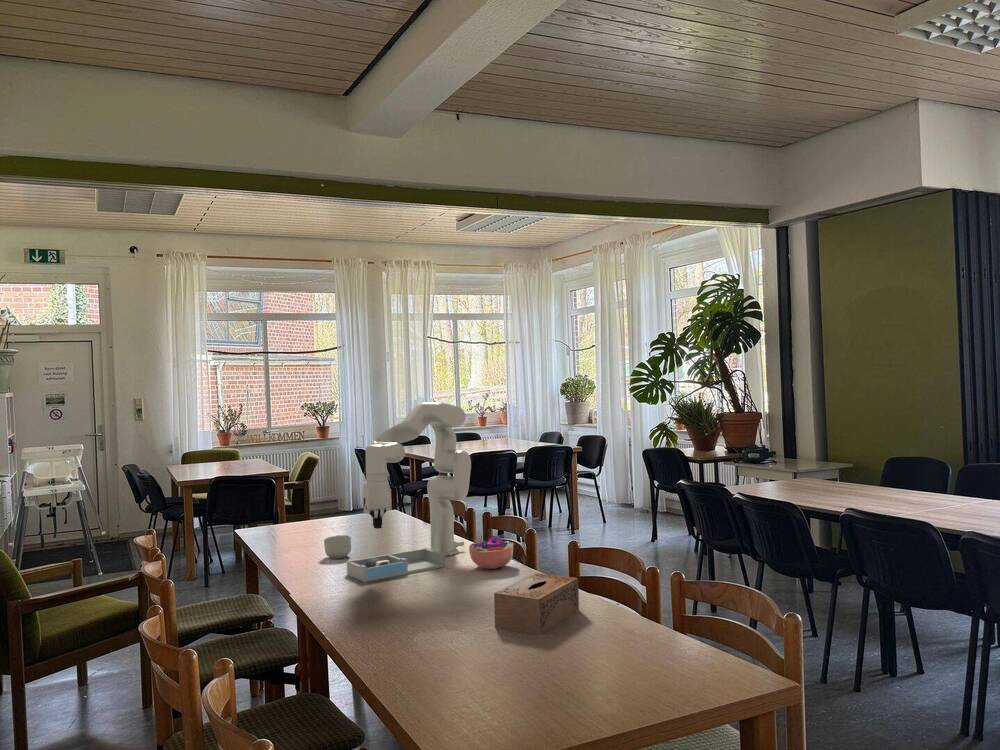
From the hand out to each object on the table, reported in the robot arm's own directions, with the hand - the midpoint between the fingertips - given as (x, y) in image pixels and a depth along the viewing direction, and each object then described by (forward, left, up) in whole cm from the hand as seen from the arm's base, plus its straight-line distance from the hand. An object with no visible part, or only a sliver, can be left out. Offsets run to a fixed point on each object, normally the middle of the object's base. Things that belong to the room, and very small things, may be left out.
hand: (377, 527), depth 293 cm
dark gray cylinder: (0, 0, -14) cm, 14 cm away
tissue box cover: (-11, +80, -18) cm, 82 cm away
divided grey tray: (-8, 0, -17) cm, 19 cm away
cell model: (-38, +19, -17) cm, 46 cm away
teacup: (-2, -38, -17) cm, 42 cm away
